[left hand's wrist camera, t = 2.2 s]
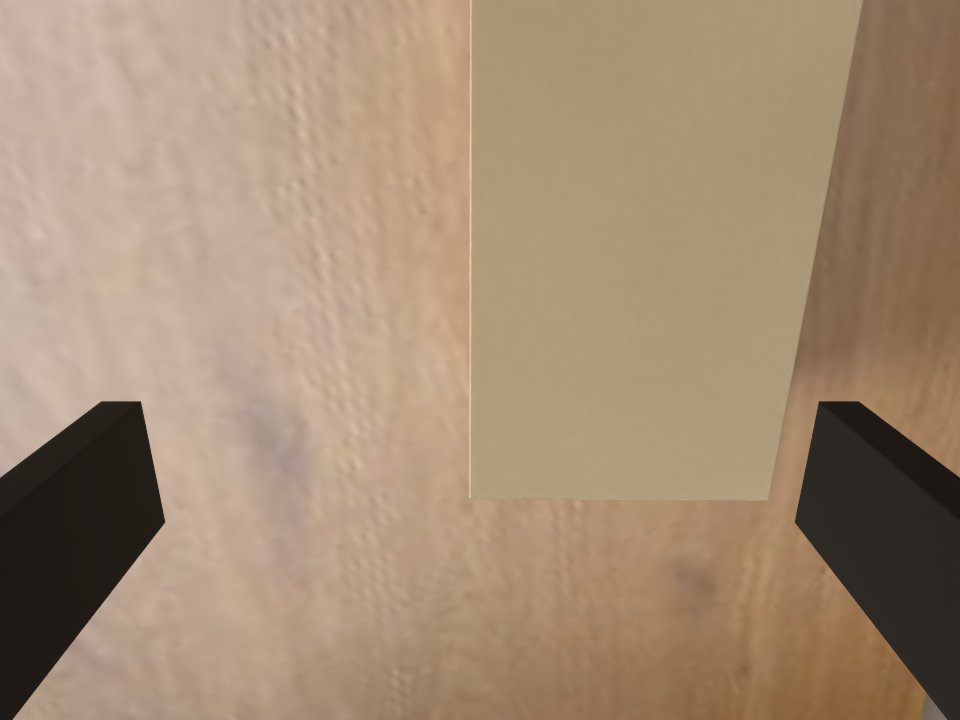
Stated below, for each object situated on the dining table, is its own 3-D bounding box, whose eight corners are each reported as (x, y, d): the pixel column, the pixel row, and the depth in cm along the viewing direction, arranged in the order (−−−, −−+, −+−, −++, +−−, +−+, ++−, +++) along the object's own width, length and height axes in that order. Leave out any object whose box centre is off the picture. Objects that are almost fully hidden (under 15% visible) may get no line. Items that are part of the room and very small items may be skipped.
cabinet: (473, -110, 25) (470, -236, 16) (756, -108, 25) (908, -232, 16) (471, 394, 32) (469, 499, 23) (690, 396, 32) (769, 501, 23)
